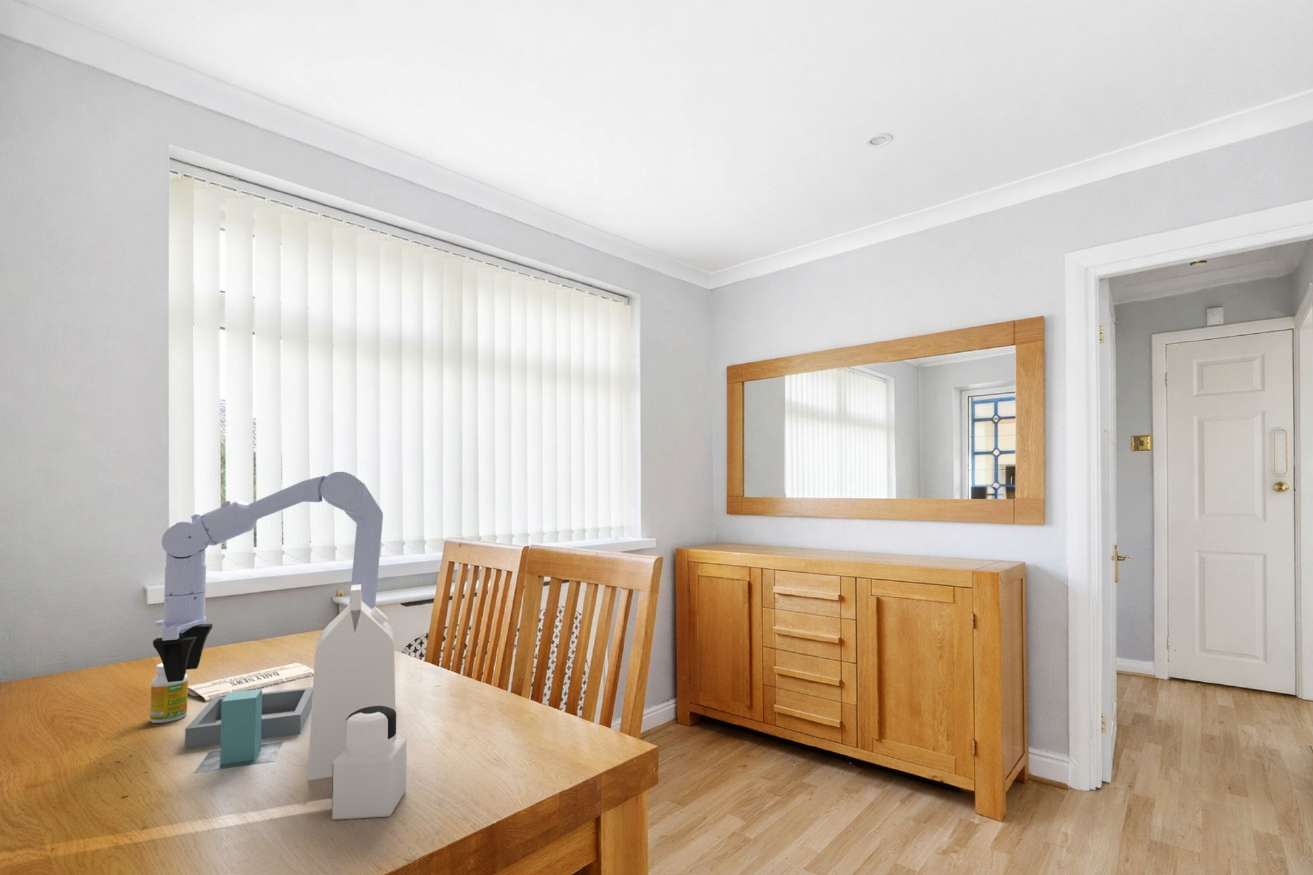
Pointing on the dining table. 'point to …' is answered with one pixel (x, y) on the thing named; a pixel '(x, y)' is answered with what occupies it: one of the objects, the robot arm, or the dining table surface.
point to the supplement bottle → (168, 698)
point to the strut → (241, 726)
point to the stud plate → (264, 756)
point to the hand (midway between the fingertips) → (183, 674)
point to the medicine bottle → (369, 766)
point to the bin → (297, 700)
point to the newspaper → (250, 681)
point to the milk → (348, 678)
